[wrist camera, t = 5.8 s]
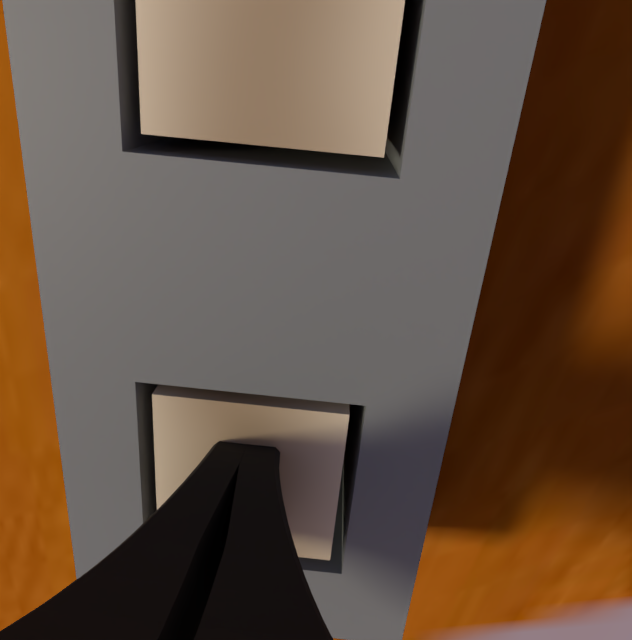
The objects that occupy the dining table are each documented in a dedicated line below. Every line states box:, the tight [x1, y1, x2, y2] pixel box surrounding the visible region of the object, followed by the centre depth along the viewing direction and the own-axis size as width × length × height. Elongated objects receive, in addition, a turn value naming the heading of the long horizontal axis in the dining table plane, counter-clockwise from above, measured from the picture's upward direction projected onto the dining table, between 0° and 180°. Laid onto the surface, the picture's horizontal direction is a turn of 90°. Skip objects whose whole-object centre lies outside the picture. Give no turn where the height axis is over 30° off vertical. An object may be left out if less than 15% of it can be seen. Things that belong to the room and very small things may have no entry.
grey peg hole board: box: [2, 0, 546, 640], centre depth 12 cm, size 8×18×4 cm, turn 175°
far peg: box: [152, 384, 350, 560], centre depth 13 cm, size 4×4×4 cm
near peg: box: [135, 0, 405, 158], centre depth 10 cm, size 4×4×4 cm
